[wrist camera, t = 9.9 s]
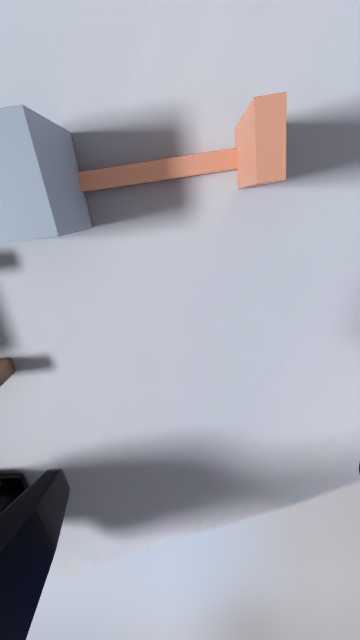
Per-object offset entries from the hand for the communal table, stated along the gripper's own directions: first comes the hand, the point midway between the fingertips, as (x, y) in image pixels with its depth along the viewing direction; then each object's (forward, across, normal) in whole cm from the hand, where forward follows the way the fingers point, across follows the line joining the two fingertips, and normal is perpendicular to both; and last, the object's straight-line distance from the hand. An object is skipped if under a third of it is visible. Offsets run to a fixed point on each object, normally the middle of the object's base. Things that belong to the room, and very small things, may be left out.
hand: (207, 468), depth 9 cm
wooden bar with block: (+12, +3, -9) cm, 15 cm away
